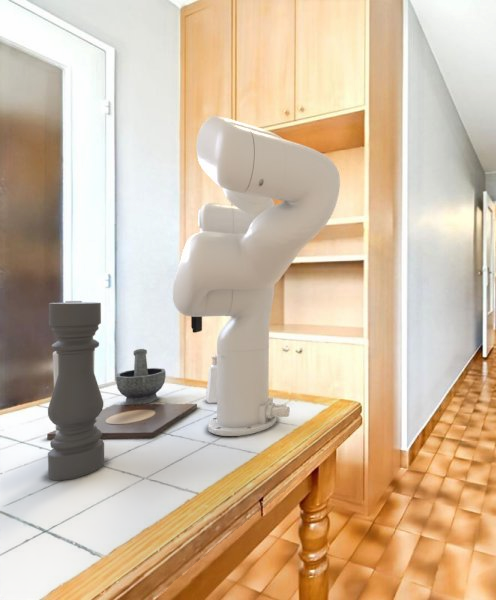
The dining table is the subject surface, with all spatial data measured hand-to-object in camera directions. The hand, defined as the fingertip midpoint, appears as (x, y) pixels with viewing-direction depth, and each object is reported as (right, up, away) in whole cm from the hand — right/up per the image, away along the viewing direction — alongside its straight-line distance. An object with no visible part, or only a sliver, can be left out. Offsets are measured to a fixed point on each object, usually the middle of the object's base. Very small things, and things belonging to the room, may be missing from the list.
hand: (217, 332), depth 85 cm
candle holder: (-4, -18, -33) cm, 38 cm away
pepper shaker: (0, -17, 0) cm, 17 cm away
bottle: (-10, -18, -27) cm, 33 cm away
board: (-10, -17, -14) cm, 24 cm away
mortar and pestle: (-18, -17, -1) cm, 25 cm away
